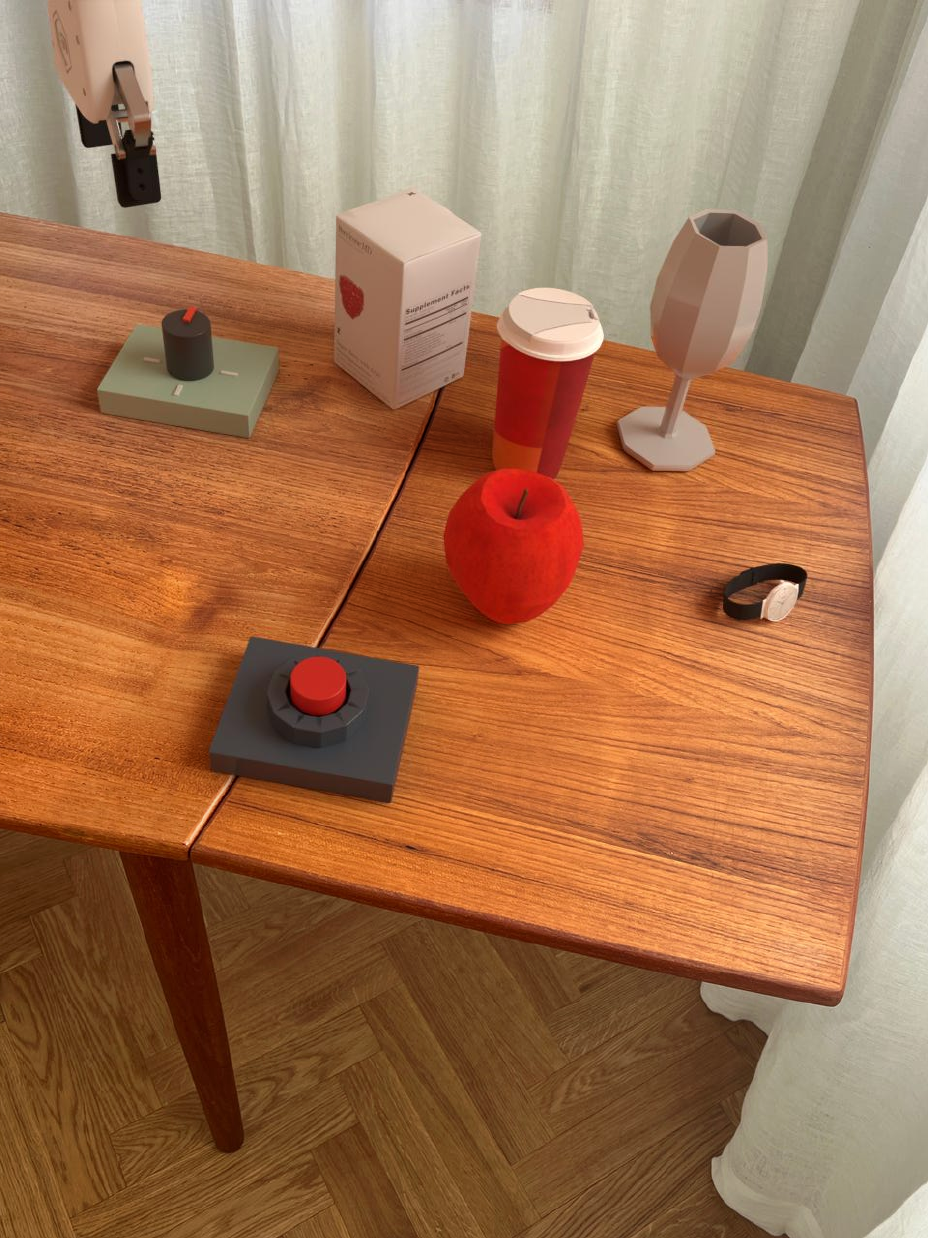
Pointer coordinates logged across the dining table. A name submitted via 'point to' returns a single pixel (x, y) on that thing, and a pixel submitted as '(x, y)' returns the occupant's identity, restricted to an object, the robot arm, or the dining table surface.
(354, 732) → the grey button base
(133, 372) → the panel
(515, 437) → the coffee cup
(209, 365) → the timer knob
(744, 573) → the watch
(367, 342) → the rectangular carton
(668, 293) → the wineglass
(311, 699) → the power button
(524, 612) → the apple
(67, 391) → the dining table surface
